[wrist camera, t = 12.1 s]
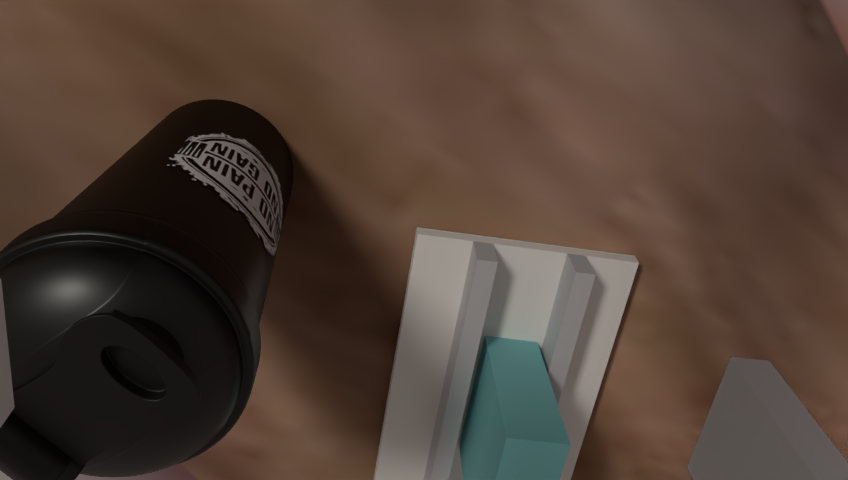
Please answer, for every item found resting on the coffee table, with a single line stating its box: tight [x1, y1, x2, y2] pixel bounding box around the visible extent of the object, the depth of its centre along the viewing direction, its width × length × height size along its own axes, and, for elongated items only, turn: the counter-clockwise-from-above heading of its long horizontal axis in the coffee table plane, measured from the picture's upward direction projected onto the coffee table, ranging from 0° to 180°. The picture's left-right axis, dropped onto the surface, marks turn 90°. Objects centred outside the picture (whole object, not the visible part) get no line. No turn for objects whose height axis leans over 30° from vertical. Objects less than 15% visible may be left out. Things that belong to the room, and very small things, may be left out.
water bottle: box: [0, 100, 293, 480], centre depth 34 cm, size 10×10×23 cm
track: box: [373, 227, 639, 480], centre depth 48 cm, size 22×14×9 cm, turn 171°
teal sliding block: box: [459, 336, 571, 480], centre depth 47 cm, size 9×4×10 cm, turn 170°
